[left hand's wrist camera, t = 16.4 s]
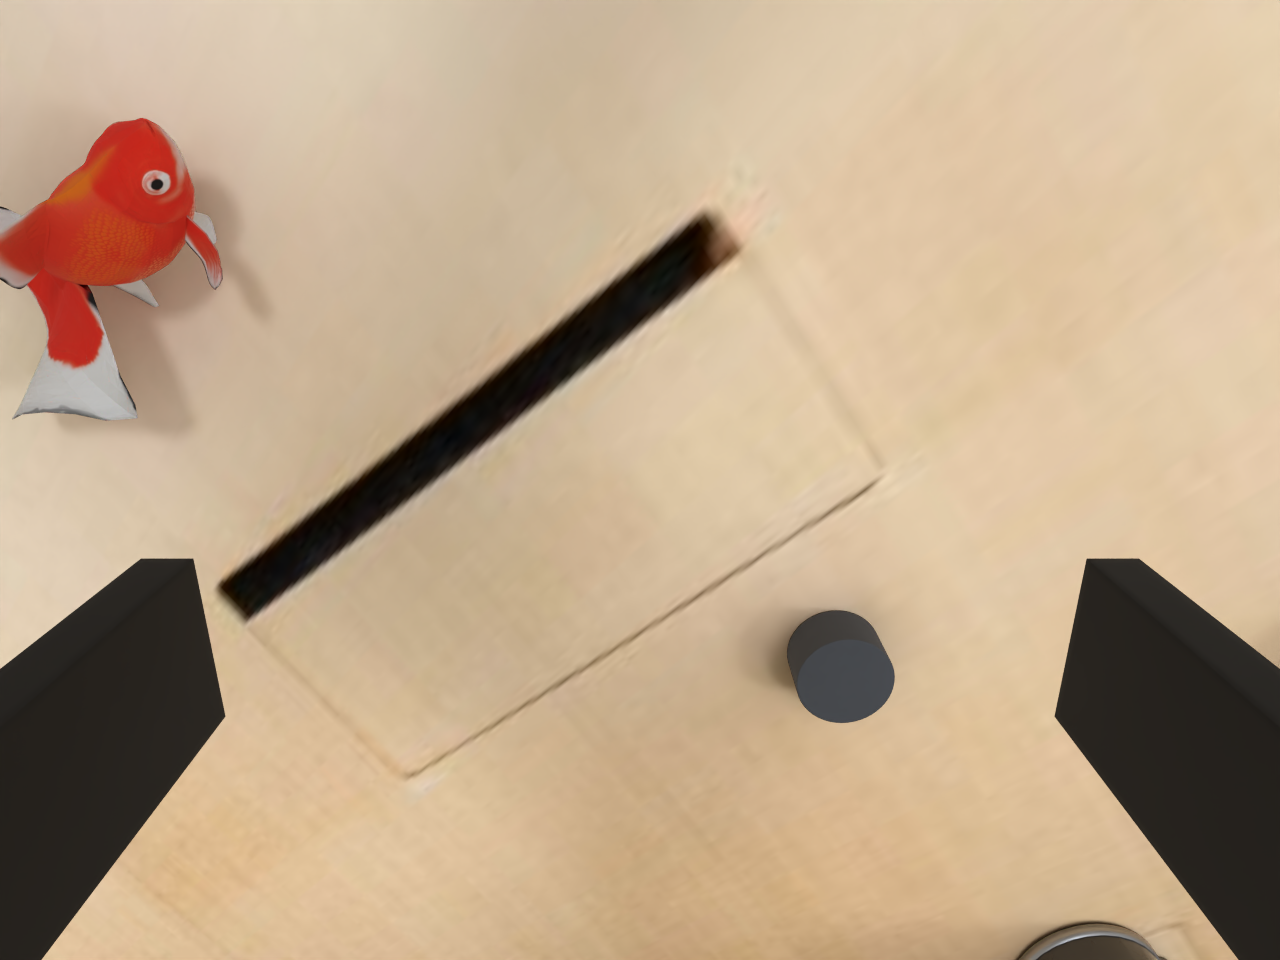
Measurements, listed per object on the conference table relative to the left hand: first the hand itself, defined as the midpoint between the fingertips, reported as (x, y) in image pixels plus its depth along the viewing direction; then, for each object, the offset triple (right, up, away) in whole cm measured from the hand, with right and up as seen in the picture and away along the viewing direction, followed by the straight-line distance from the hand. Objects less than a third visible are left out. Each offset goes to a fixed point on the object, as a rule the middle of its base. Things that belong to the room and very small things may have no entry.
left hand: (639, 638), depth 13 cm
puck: (+10, -7, +33) cm, 35 cm away
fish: (-23, +12, +26) cm, 37 cm away
